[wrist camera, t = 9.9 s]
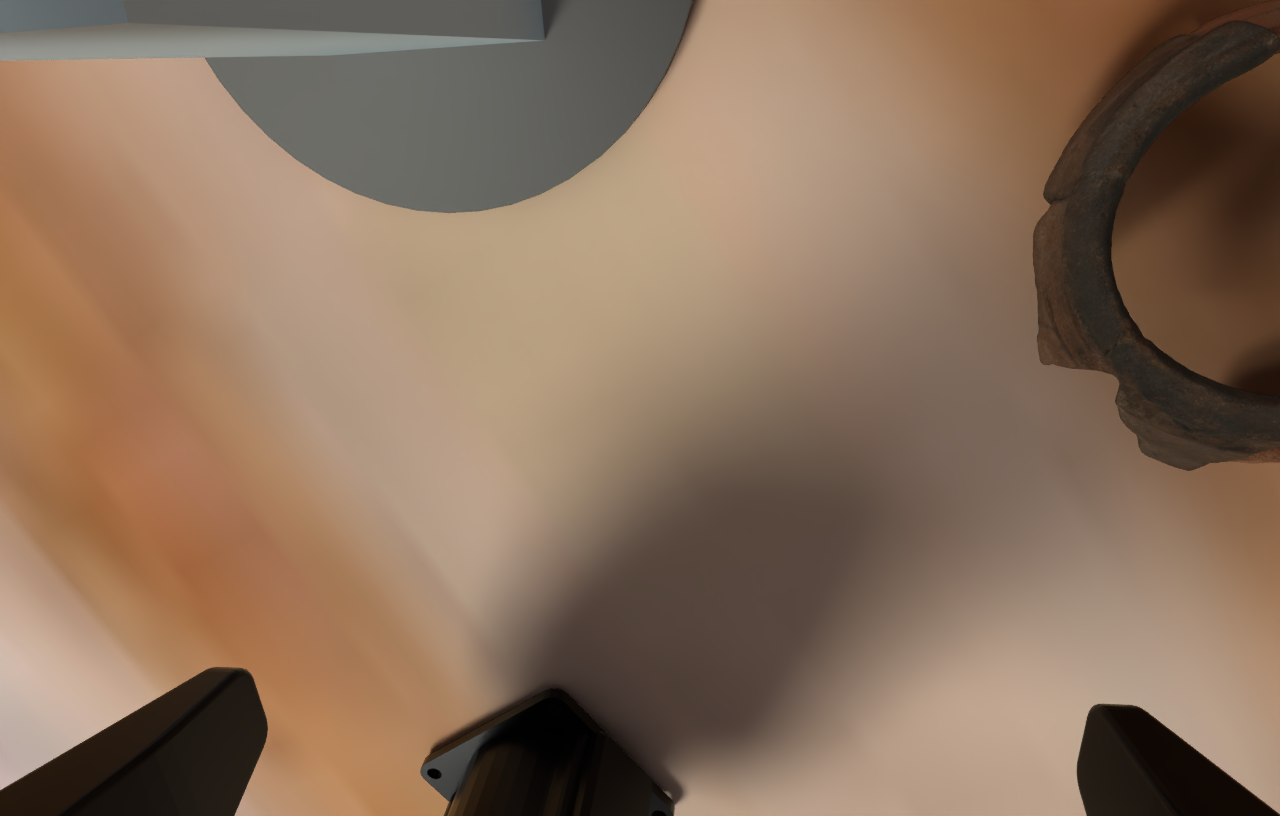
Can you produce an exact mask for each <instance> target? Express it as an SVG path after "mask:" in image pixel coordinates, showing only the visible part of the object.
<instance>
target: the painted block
mask: <svg viewBox="0 0 1280 816" xmlns="http://www.w3.org/2000/svg"><path fill="white" fill-rule="evenodd" d="M544 40H545V36H544V26H543V16H542V6H541V0H0V61H12V60H75V59H139V58H202V57H265V56H329V55H344V54H358V53H373V52H387V51H401V50H415V49H430V48H444V47H458V46H473V45H487V44H501V43H515V42H530V41H544Z"/></svg>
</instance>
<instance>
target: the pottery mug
mask: <svg viewBox="0 0 1280 816" xmlns="http://www.w3.org/2000/svg"><path fill="white" fill-rule="evenodd" d="M1276 53H1280V0H1271V1H1267V2H1263V3H1259V4H1256V5H1252V6H1249V7H1246V8H1243V9H1240V10H1236V11H1234V12H1231V13H1228V14H1225V15H1223V16H1220V17H1218V18H1216V19H1213V20H1211V21H1209V22H1206V23H1204V24H1202V25H1201V26H1200V27H1198V28H1197V29H1196V30H1195V31H1193V32H1191V33H1190V34H1189V35H1186V34H1184V35H1178V36H1175V37H1173V38H1171V39H1169V40H1168V41H1166V42H1164V43H1163V44H1161V45H1159V46H1158V47H1156V48H1155V49H1154V50H1153V51H1152V52H1151V53H1149V54H1148V55H1147V56H1146V57H1145V58H1144V59H1143V60H1141V61H1140V62H1139V63H1138V64H1137V65H1136V66H1135V67H1134V68H1133V69H1131V70H1130V71H1129V72H1128V73H1127V74H1126V75H1125V76H1124V77H1123V78H1122V79H1121V80H1120V81H1119V82H1118V83H1117V84H1116V85H1115V86H1114V88H1112V89H1111V90H1110V91H1109V92H1108V93H1107V94H1106V95H1105V96H1104V97H1103V98H1102V100H1101V101H1100V102H1099V103H1098V105H1097V106H1096V107H1095V108H1094V109H1093V110H1092V111H1091V112H1090V113H1089V115H1088V116H1087V117H1086V119H1085V120H1084V121H1083V122H1082V124H1081V125H1080V127H1079V128H1078V129H1077V131H1076V132H1075V133H1074V135H1073V136H1072V138H1071V139H1070V141H1069V142H1068V144H1067V146H1066V147H1065V149H1064V151H1063V153H1062V155H1061V157H1060V158H1059V160H1058V162H1057V164H1056V165H1055V167H1054V170H1053V171H1052V173H1051V174H1050V176H1049V179H1048V181H1047V183H1046V185H1045V188H1044V193H1043V195H1044V198H1045V199H1046V201H1047V202H1048V203H1049V204H1051V206H1050V208H1049V209H1048V211H1047V212H1046V213H1045V215H1044V216H1043V217H1042V218H1041V219H1040V220H1039V221H1038V223H1037V225H1036V227H1035V230H1034V235H1033V265H1034V271H1035V284H1036V288H1037V298H1038V325H1039V332H1038V336H1037V342H1038V350H1039V356H1040V361H1041V363H1042V364H1044V365H1050V364H1054V365H1057V366H1061V367H1066V368H1072V369H1087V370H1097V371H1102V372H1105V373H1109V374H1112V375H1114V376H1116V377H1117V379H1118V380H1119V382H1120V385H1119V390H1118V393H1117V396H1116V400H1115V402H1116V405H1117V406H1118V410H1119V415H1120V418H1121V420H1122V421H1123V423H1124V424H1125V425H1126V426H1127V427H1128V428H1129V429H1130V430H1131V431H1132V432H1134V433H1135V434H1136V435H1137V437H1138V444H1139V448H1140V450H1141V452H1142V453H1144V454H1145V455H1147V456H1148V457H1151V458H1153V459H1156V460H1158V461H1161V462H1163V463H1165V464H1168V465H1171V466H1173V467H1176V468H1179V469H1183V470H1187V471H1191V470H1194V469H1197V468H1200V467H1202V466H1205V465H1207V464H1209V463H1218V462H1226V461H1234V462H1243V463H1270V462H1277V463H1278V462H1280V397H1277V396H1269V395H1262V394H1257V393H1251V392H1246V391H1242V390H1239V389H1235V388H1232V387H1229V386H1226V385H1223V384H1221V383H1218V382H1216V381H1213V380H1211V379H1209V378H1206V377H1204V376H1201V375H1199V374H1197V373H1195V372H1193V371H1191V370H1189V369H1187V368H1186V367H1184V366H1183V365H1181V364H1179V363H1178V362H1176V361H1175V360H1173V359H1172V358H1171V357H1170V356H1168V355H1167V354H1165V353H1164V352H1163V351H1161V350H1160V349H1159V348H1157V347H1156V346H1155V345H1154V344H1153V343H1152V342H1151V341H1150V340H1147V339H1145V338H1144V337H1143V335H1142V333H1141V331H1140V330H1139V328H1138V326H1137V325H1136V323H1135V322H1134V321H1133V320H1132V318H1131V317H1130V315H1129V313H1128V311H1127V309H1126V307H1125V306H1124V303H1123V301H1122V298H1121V295H1120V293H1119V291H1118V289H1117V285H1116V281H1115V277H1114V272H1113V266H1112V260H1111V247H1112V231H1113V224H1114V219H1115V215H1116V211H1117V208H1118V205H1119V202H1120V200H1121V197H1122V195H1123V191H1124V188H1125V185H1126V182H1127V181H1128V179H1129V178H1130V176H1131V175H1132V173H1133V172H1134V170H1135V167H1136V166H1137V164H1138V162H1139V161H1140V159H1141V157H1142V156H1143V155H1144V153H1145V152H1146V151H1147V149H1148V148H1149V147H1150V145H1151V144H1152V143H1153V141H1154V140H1155V139H1156V138H1157V137H1158V136H1159V134H1160V133H1161V132H1162V131H1163V130H1164V129H1165V128H1166V127H1167V126H1168V125H1169V124H1170V123H1171V122H1172V121H1173V120H1174V119H1175V118H1176V117H1177V116H1178V115H1179V114H1180V113H1182V112H1183V111H1184V110H1186V109H1187V108H1189V107H1190V106H1192V105H1193V104H1195V103H1196V102H1197V101H1198V100H1199V99H1200V98H1202V97H1203V96H1204V95H1206V94H1207V93H1209V92H1211V91H1212V90H1214V89H1216V88H1217V87H1219V86H1220V85H1222V84H1224V83H1225V82H1227V81H1229V80H1231V79H1233V78H1235V77H1237V76H1240V75H1242V74H1244V73H1246V72H1248V71H1249V70H1251V69H1253V68H1255V67H1257V66H1258V65H1260V64H1262V63H1263V62H1265V61H1266V60H1267V59H1269V58H1270V57H1272V56H1273V55H1274V54H1276Z"/></svg>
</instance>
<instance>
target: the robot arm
mask: <svg viewBox="0 0 1280 816" xmlns="http://www.w3.org/2000/svg"><path fill="white" fill-rule="evenodd" d="M551 703H553V704H557V705H559V706H553V705H552V704H551ZM267 731H268V726H267V719H266V715H265V712H264V709H263V706H262V703H261V700H260V697H259V694H258V691H257V688H256V685H255V682H254V679H253V677H252V675H251V674H250V673H249V672H248V671H247V670H246V669H243V668H230V667H214V668H209V669H207V670H205V671H203V672H201V673H200V674H198V675H196V676H195V677H193V678H191V679H189V680H188V681H186V682H184V683H183V684H181V685H179V686H178V687H176V688H174V689H172V690H171V691H169V692H167V693H166V694H164V695H162V696H160V697H159V698H157V699H155V700H154V701H152V702H150V703H148V704H147V705H145V706H143V707H142V708H140V709H138V710H137V711H135V712H133V713H131V714H130V715H128V716H126V717H125V718H123V719H121V720H119V721H118V722H116V723H114V724H113V725H111V726H109V727H108V728H106V729H104V730H102V731H101V732H99V733H97V734H96V735H94V736H92V737H90V738H89V739H87V740H85V741H84V742H82V743H80V744H79V745H77V746H75V747H73V748H72V749H70V750H68V751H67V752H65V753H63V754H61V755H60V756H58V757H56V758H55V759H53V760H51V761H49V762H48V763H46V764H44V765H43V766H41V767H39V768H38V769H36V770H34V771H32V772H31V773H29V774H27V775H26V776H24V777H22V778H20V779H19V780H17V781H15V782H14V783H12V784H10V785H9V786H7V787H5V788H3V789H2V790H0V816H234V815H235V813H236V810H237V808H238V806H239V803H240V801H241V799H242V796H243V794H244V792H245V789H246V787H247V785H248V782H249V780H250V778H251V775H252V773H253V771H254V768H255V766H256V764H257V761H258V759H259V757H260V755H261V752H262V750H263V748H264V745H265V742H266V738H267ZM420 772H421V775H422V777H423V778H424V779H425V780H426V781H427V782H428V783H429V784H430V785H431V786H432V787H434V788H435V789H436V790H437V791H438V792H439V793H440V794H441V795H442V796H443V797H444V798H446V799H447V800H448V801H449V804H448V806H447V809H446V811H445V814H444V816H674V810H675V806H674V803H673V801H672V800H671V799H670V798H669V797H668V796H667V795H666V794H665V793H664V792H663V791H662V790H661V789H660V788H659V787H658V786H657V785H656V784H655V783H654V782H653V781H652V780H651V779H650V778H649V776H648V775H647V774H646V773H645V772H644V771H643V770H642V769H641V768H640V767H639V766H638V765H637V764H636V763H635V762H634V761H633V760H632V759H631V758H630V757H629V756H628V755H627V754H626V753H625V752H624V751H623V750H622V749H621V748H620V747H619V746H618V745H617V744H616V743H615V742H614V741H613V740H612V739H611V738H610V737H609V736H608V735H607V734H606V732H605V731H604V730H603V729H602V728H601V727H600V726H599V725H598V724H597V723H596V722H595V721H594V720H593V719H592V718H591V717H590V716H589V715H588V714H587V713H586V712H585V711H584V710H583V709H582V708H581V707H580V706H579V705H578V704H577V703H576V702H575V701H574V700H573V699H572V698H571V697H570V696H569V695H568V694H567V693H566V692H564V691H563V690H560V689H553V688H551V689H548V690H546V691H544V692H542V693H540V694H538V695H537V696H535V697H533V698H531V699H529V700H528V701H526V702H524V703H522V704H520V705H519V706H517V707H515V708H513V709H511V710H509V711H508V712H506V713H504V714H502V715H500V716H499V717H497V718H495V719H493V720H491V721H490V722H488V723H486V724H484V725H482V726H481V727H479V728H477V729H475V730H473V731H472V732H470V733H468V734H466V735H464V736H462V737H461V738H459V739H457V740H455V741H453V742H452V743H450V744H448V745H446V746H444V747H443V748H441V749H439V750H437V751H435V752H434V753H432V754H430V755H428V756H427V757H426V758H425V761H424V763H423V765H422V767H421V771H420ZM1077 780H1078V786H1079V790H1080V794H1081V797H1082V801H1083V804H1084V808H1085V811H1086V815H1087V816H1280V814H1279V813H1277V812H1276V811H1275V810H1274V809H1272V808H1271V807H1270V806H1268V805H1267V804H1266V803H1264V802H1263V801H1262V800H1261V799H1259V798H1258V797H1257V796H1255V795H1254V794H1253V793H1252V792H1250V791H1249V790H1248V789H1246V788H1245V787H1244V786H1242V785H1241V784H1240V783H1239V782H1237V781H1236V780H1235V779H1233V778H1232V777H1231V776H1229V775H1228V774H1227V773H1226V772H1224V771H1223V770H1222V769H1220V768H1219V767H1218V766H1217V765H1215V764H1214V763H1213V762H1211V761H1210V760H1209V759H1207V758H1206V757H1205V756H1204V755H1202V754H1201V753H1200V752H1198V751H1197V750H1196V749H1194V748H1193V747H1192V746H1191V745H1189V744H1188V743H1187V742H1185V741H1184V740H1183V739H1182V738H1180V737H1179V736H1178V735H1176V734H1175V733H1174V732H1172V731H1171V730H1170V729H1169V728H1167V727H1166V726H1165V725H1163V724H1162V723H1161V722H1159V721H1158V720H1157V719H1156V718H1154V717H1153V716H1152V715H1150V714H1149V713H1148V712H1146V711H1145V710H1143V709H1142V708H1140V707H1137V706H1133V705H1118V704H1097V705H1094V706H1093V707H1092V708H1091V709H1090V711H1089V713H1088V716H1087V720H1086V725H1085V729H1084V734H1083V738H1082V743H1081V748H1080V752H1079V757H1078V761H1077ZM658 810H659V811H658Z"/></svg>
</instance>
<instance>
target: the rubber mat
mask: <svg viewBox="0 0 1280 816" xmlns="http://www.w3.org/2000/svg"><path fill="white" fill-rule="evenodd" d="M692 3H693V0H541V6H542V16H543V26H544V36H545V40H544V41H530V42H515V43H501V44H487V45H473V46H458V47H444V48H430V49H415V50H401V51H387V52H373V53H358V54H344V55H329V56H265V57H204V58H205V59H206V61H207V62H208V64H209V65H210V67H211V68H212V70H213V72H214V73H215V75H216V76H217V78H218V79H219V81H220V82H221V84H222V85H223V86H224V87H225V89H226V90H227V91H228V92H229V94H230V95H231V96H232V97H233V99H234V100H235V101H236V102H237V104H238V105H239V106H240V107H241V109H242V110H243V111H244V112H245V113H246V114H247V115H248V116H249V117H250V118H251V119H252V120H253V121H254V122H255V123H256V124H257V125H258V126H259V127H260V128H261V129H262V130H263V132H264V133H265V134H266V135H267V136H268V137H269V138H271V139H272V140H273V141H274V142H276V143H277V144H278V145H279V146H280V147H282V148H283V149H284V150H285V151H287V152H288V153H289V154H290V155H291V156H293V157H294V158H295V159H296V160H298V161H299V162H301V163H302V164H304V165H305V166H307V167H309V168H310V169H312V170H313V171H315V172H316V173H318V174H319V175H321V176H322V177H324V178H326V179H328V180H330V181H332V182H334V183H336V184H338V185H340V186H342V187H344V188H346V189H348V190H350V191H352V192H354V193H356V194H359V195H362V196H365V197H368V198H371V199H373V200H376V201H379V202H382V203H385V204H389V205H393V206H398V207H403V208H408V209H412V210H417V211H430V212H443V213H456V212H472V211H483V210H488V209H492V208H497V207H502V206H507V205H512V204H514V203H517V202H520V201H523V200H525V199H528V198H531V197H534V196H537V195H539V194H542V193H544V192H546V191H547V190H549V189H551V188H553V187H555V186H557V185H559V184H561V183H563V182H564V181H566V180H568V179H570V178H571V177H573V176H574V175H575V174H577V173H578V172H580V171H581V170H582V169H584V168H585V167H587V166H588V165H589V164H591V163H592V162H593V161H595V160H596V159H598V158H599V157H600V156H601V155H602V154H603V153H605V152H606V151H607V150H608V149H609V148H610V147H611V146H612V145H613V144H614V143H615V142H616V141H617V140H618V139H619V138H620V137H621V136H622V135H623V134H624V133H625V132H626V131H627V130H628V128H629V127H630V126H631V125H632V123H633V122H634V121H635V120H636V118H637V117H638V116H639V115H640V113H641V112H642V111H643V110H644V108H645V107H646V106H647V104H648V103H649V101H650V99H651V98H652V96H653V94H654V93H655V91H656V90H657V88H658V86H659V85H660V83H661V81H662V80H663V78H664V76H665V75H666V72H667V70H668V68H669V66H670V64H671V61H672V59H673V57H674V55H675V52H676V50H677V48H678V46H679V43H680V41H681V39H682V35H683V32H684V29H685V26H686V23H687V19H688V16H689V13H690V10H691V6H692Z"/></svg>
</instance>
